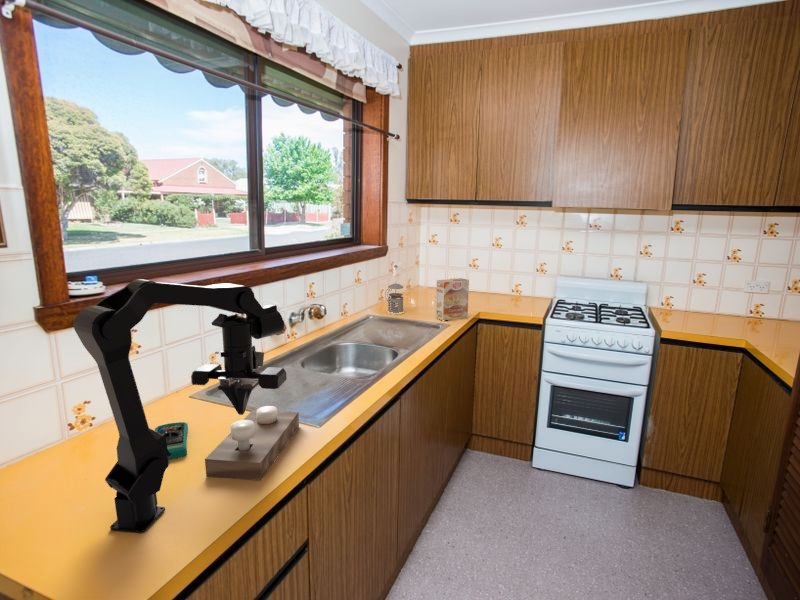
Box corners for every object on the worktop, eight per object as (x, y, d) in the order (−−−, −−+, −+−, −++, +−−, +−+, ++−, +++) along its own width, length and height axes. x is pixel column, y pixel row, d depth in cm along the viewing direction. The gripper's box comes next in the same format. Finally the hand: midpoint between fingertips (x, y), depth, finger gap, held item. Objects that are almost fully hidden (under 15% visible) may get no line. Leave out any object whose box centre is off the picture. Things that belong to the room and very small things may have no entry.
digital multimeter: (188, 430, 119) (187, 419, 119) (187, 458, 106) (186, 446, 105) (156, 435, 117) (154, 424, 116) (150, 465, 103) (149, 453, 103)
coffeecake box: (443, 321, 227) (444, 282, 223) (435, 318, 233) (435, 279, 229) (468, 318, 234) (469, 279, 230) (459, 315, 240) (460, 277, 236)
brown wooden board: (261, 480, 97) (260, 462, 96) (206, 476, 98) (204, 458, 98) (299, 426, 120) (298, 412, 120) (254, 423, 122) (253, 409, 121)
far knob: (273, 440, 113) (272, 414, 112) (254, 439, 114) (253, 413, 112) (281, 430, 118) (279, 406, 116) (262, 429, 118) (261, 405, 117)
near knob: (250, 459, 100) (248, 430, 99) (228, 457, 100) (226, 429, 99) (259, 447, 105) (257, 420, 103) (238, 446, 105) (236, 419, 104)
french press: (396, 315, 239) (396, 266, 234) (380, 312, 247) (379, 264, 242) (408, 312, 246) (409, 265, 241) (392, 309, 254) (392, 263, 249)
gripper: (293, 335, 105) (295, 401, 108) (214, 332, 107) (218, 397, 110) (275, 350, 94) (278, 422, 97) (187, 346, 96) (192, 417, 99)
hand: (241, 414), depth 101 cm, fingers closed
